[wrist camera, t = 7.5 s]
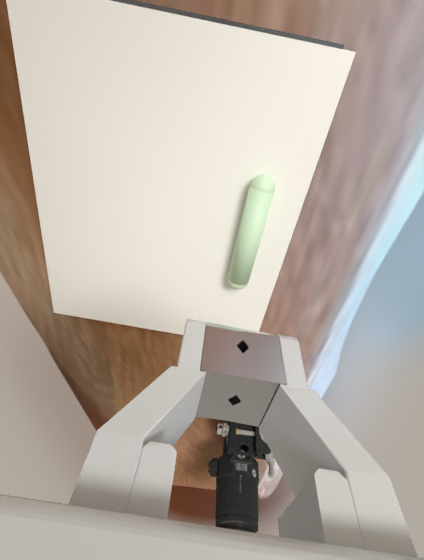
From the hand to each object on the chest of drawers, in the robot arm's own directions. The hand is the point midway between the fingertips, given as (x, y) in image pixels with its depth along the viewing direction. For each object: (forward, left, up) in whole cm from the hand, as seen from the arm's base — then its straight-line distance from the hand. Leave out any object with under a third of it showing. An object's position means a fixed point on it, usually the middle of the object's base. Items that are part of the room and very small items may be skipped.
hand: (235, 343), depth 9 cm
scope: (+39, +9, -20) cm, 44 cm away
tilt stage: (+4, -4, -15) cm, 16 cm away
